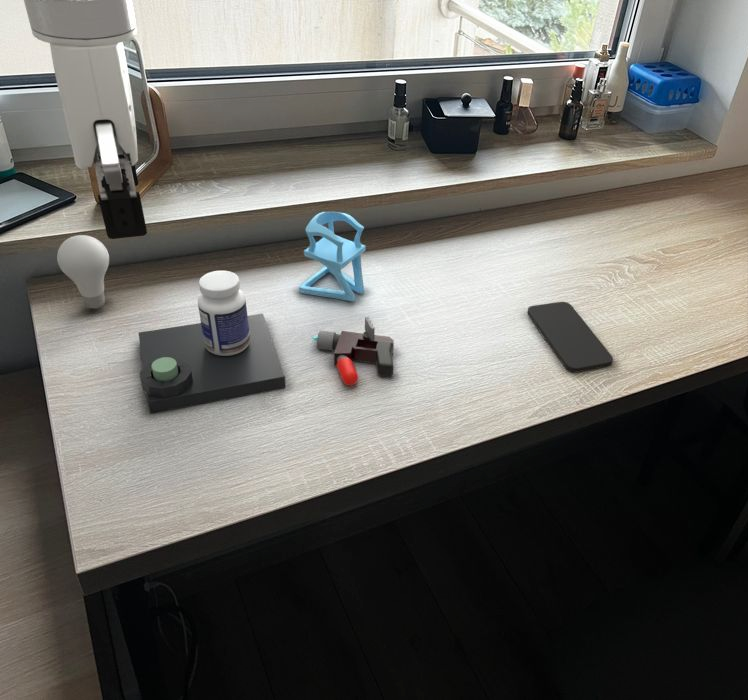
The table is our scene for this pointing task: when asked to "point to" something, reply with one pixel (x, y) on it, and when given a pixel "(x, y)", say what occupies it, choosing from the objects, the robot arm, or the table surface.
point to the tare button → (164, 369)
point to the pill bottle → (223, 313)
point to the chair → (334, 256)
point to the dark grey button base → (208, 367)
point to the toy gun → (358, 351)
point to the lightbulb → (85, 267)
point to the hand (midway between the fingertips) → (124, 209)
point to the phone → (569, 336)
